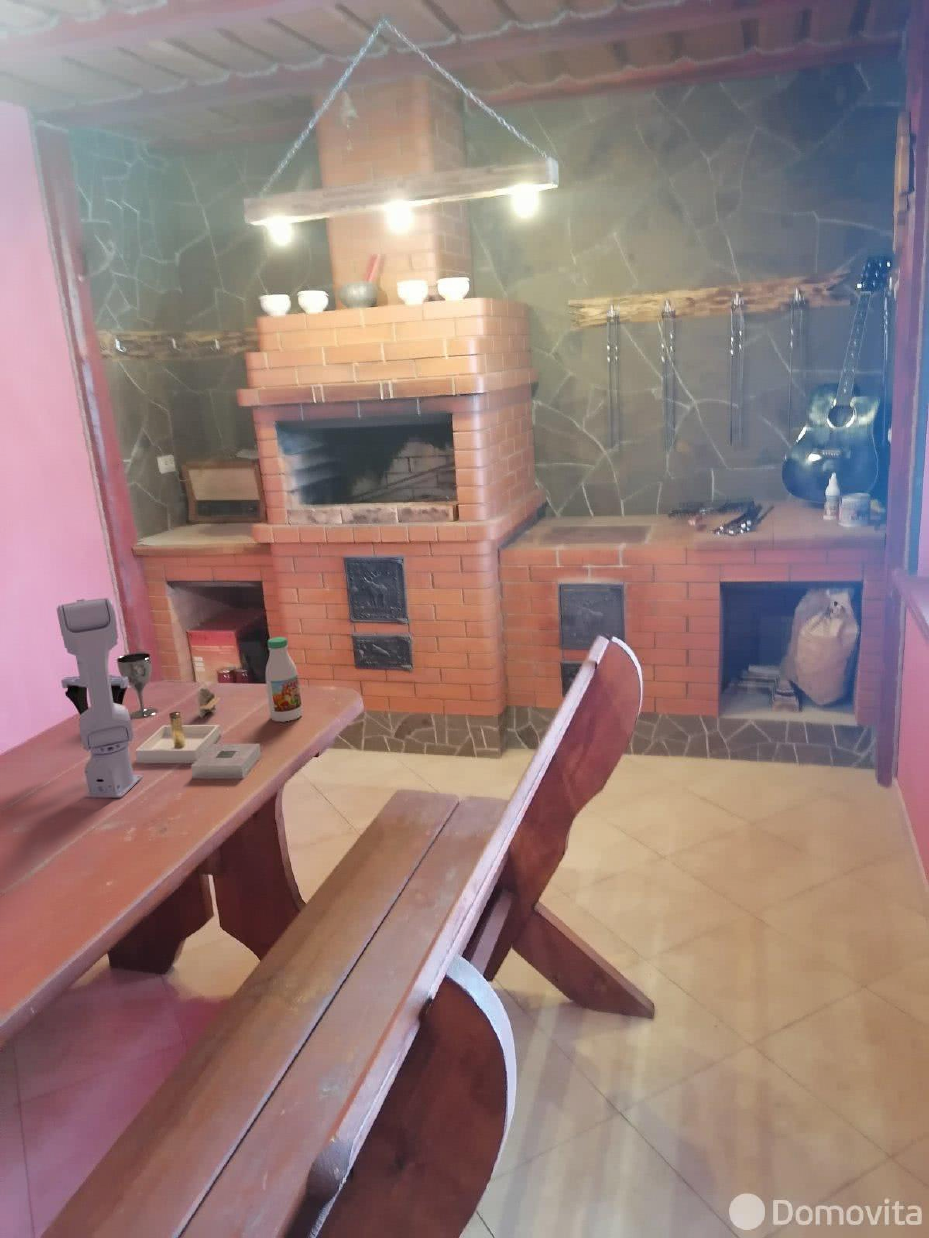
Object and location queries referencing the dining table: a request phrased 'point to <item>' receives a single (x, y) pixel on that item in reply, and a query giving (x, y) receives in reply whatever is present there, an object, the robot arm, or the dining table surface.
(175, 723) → the pin
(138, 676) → the wine glass
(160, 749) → the tray
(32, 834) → the dining table surface
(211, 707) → the architectural model
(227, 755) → the grey square socket block
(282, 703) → the milk bottle
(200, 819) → the dining table surface
